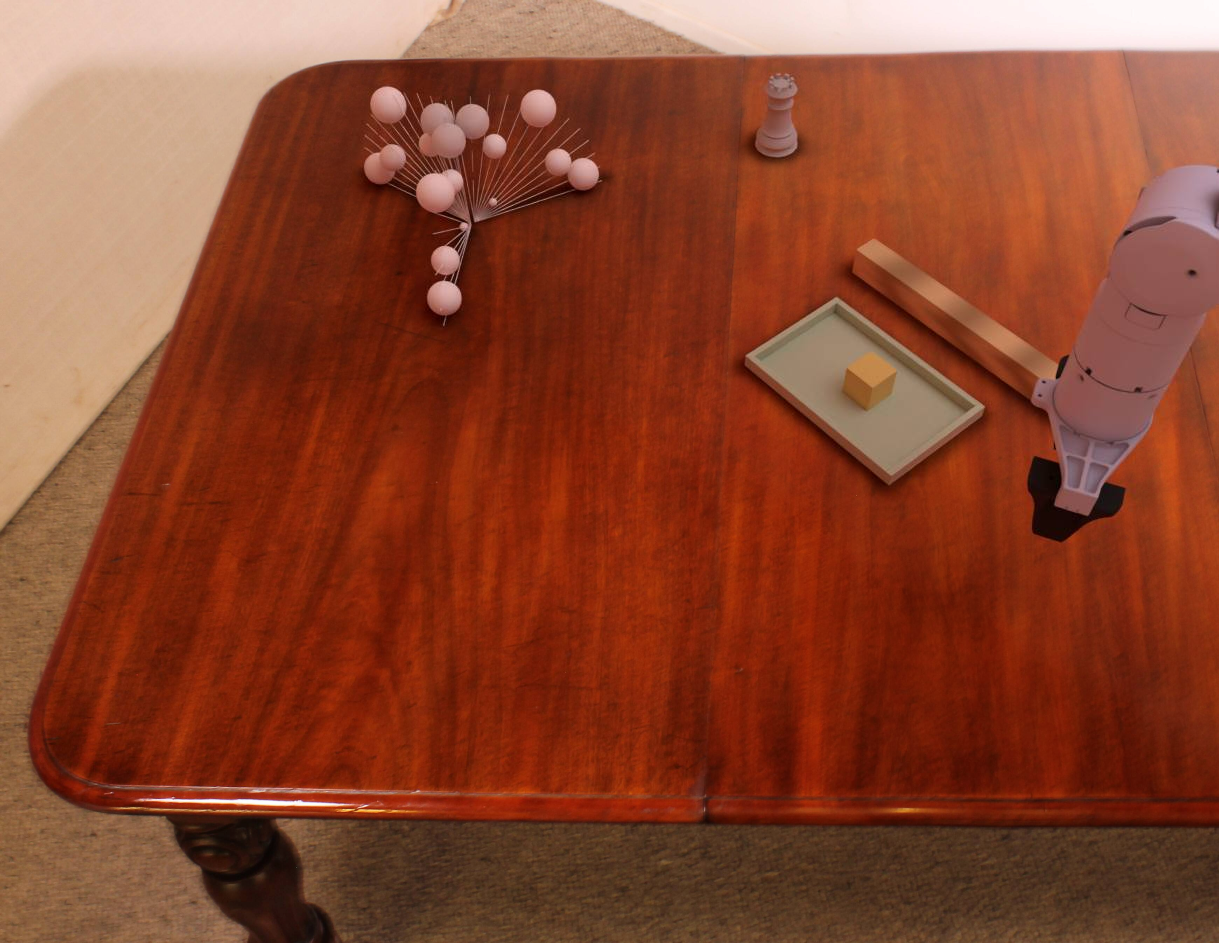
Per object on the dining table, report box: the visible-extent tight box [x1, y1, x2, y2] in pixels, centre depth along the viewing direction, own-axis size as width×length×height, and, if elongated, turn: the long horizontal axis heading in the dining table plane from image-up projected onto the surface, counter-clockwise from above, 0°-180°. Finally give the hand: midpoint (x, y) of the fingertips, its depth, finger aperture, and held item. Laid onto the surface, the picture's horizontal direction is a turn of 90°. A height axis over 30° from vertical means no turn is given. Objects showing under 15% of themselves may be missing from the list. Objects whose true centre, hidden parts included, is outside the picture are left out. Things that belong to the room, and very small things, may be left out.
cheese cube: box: [842, 351, 897, 411], centre depth 91 cm, size 3×3×3 cm
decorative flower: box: [363, 86, 602, 327], centre depth 101 cm, size 25×22×14 cm
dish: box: [744, 296, 986, 486], centre depth 92 cm, size 17×11×2 cm, turn 38°
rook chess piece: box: [754, 72, 798, 159], centre depth 111 cm, size 4×4×8 cm
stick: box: [851, 238, 1059, 414], centre depth 95 cm, size 25×2×3 cm, turn 38°
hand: (1059, 491), depth 74 cm, fingers open, 7 cm apart
